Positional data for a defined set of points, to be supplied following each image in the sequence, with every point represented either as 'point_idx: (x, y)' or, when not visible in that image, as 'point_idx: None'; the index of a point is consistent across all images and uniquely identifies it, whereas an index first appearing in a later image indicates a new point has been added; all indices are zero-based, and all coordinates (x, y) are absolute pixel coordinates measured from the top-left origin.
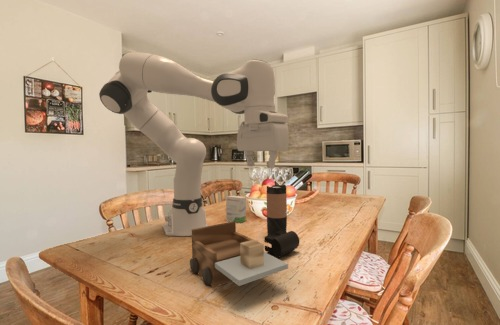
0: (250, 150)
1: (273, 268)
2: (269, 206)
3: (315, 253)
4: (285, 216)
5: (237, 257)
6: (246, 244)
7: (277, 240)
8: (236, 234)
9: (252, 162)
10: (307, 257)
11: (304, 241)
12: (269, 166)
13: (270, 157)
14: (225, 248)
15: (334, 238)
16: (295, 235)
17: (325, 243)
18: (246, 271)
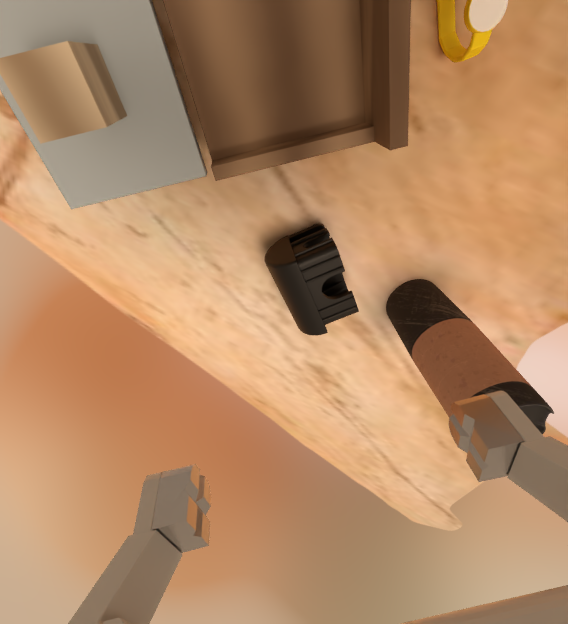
0: (515, 604)
1: (37, 148)
2: (466, 346)
3: (271, 335)
4: (414, 361)
5: (159, 56)
6: (41, 64)
7: (280, 266)
8: (345, 133)
9: (472, 449)
10: (258, 310)
11: (349, 347)
12: (151, 480)
13: (104, 587)
14: (271, 41)
15: (328, 404)
16: (304, 328)
17: (312, 377)
18: (14, 35)
